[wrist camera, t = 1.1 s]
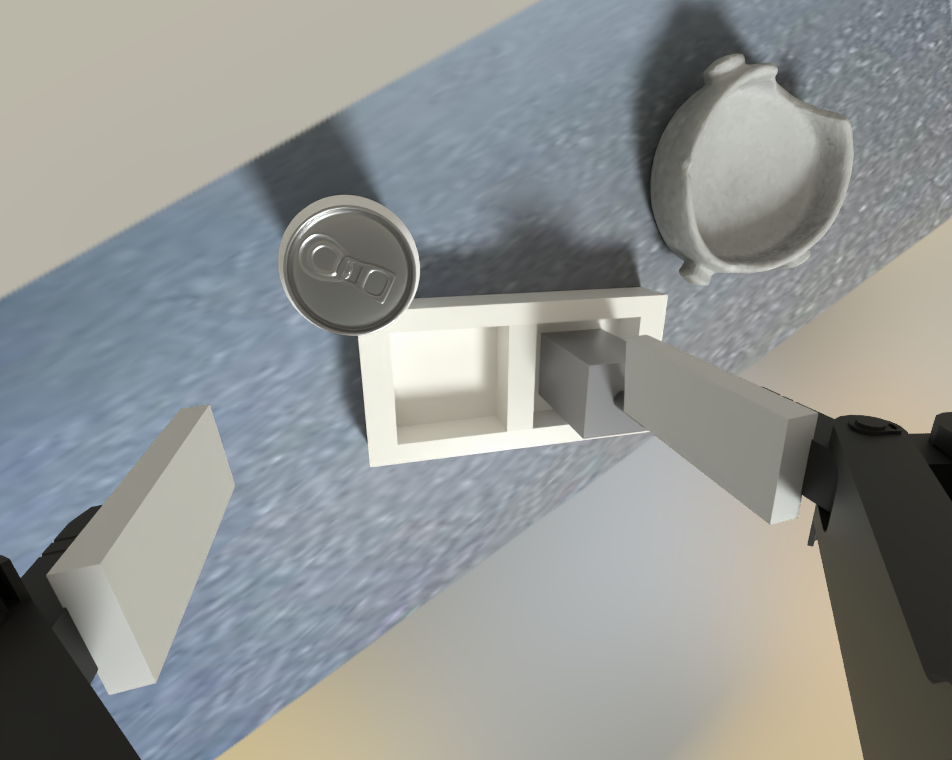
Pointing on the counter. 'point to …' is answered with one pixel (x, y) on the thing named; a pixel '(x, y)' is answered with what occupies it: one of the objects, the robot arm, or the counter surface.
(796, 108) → the dish
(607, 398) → the seated block
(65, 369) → the counter surface
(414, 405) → the white flat tray
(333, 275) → the can
